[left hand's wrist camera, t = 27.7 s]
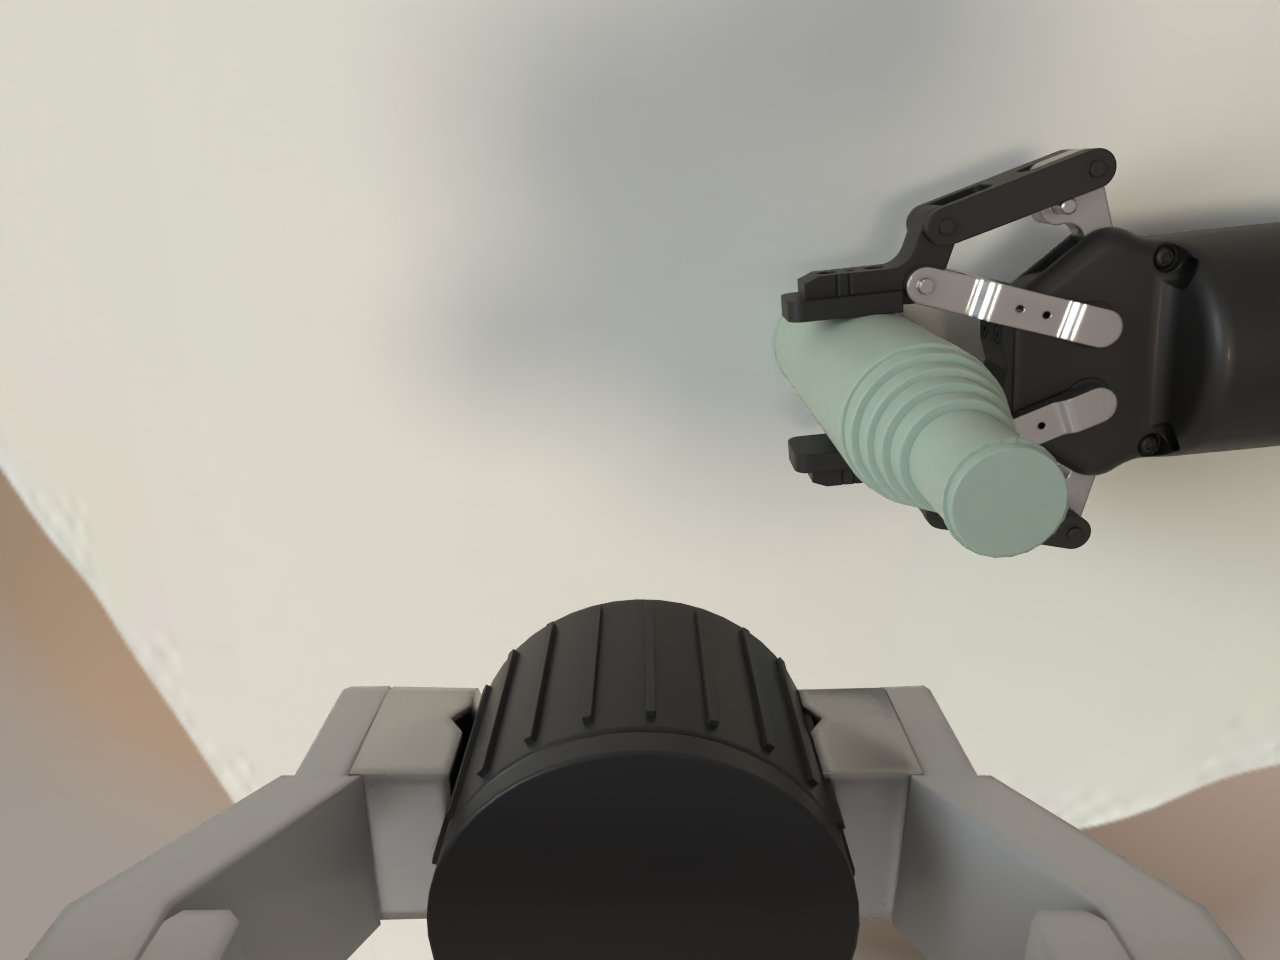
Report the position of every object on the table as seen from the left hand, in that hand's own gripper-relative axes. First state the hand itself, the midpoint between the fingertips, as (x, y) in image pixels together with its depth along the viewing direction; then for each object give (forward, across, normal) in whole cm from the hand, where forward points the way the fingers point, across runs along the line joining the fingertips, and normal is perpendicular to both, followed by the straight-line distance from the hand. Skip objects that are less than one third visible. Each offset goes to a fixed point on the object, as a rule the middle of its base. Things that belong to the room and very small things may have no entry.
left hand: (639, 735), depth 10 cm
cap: (0, 0, 0) cm, 0 cm away
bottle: (+28, +8, -1) cm, 29 cm away
